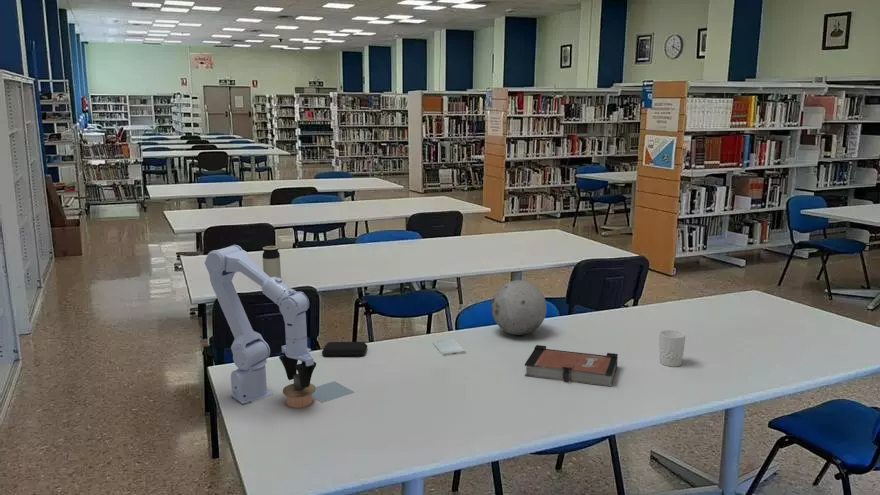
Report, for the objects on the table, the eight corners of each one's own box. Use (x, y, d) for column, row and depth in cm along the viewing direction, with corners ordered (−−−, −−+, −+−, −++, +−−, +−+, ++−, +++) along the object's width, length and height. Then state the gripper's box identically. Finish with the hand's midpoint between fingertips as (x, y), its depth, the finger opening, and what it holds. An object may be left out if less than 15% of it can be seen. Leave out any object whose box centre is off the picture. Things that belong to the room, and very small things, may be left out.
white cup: (687, 362, 219) (689, 333, 217) (677, 369, 214) (679, 339, 212) (664, 357, 224) (666, 328, 223) (653, 363, 219) (655, 334, 217)
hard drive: (432, 341, 239) (442, 353, 227) (454, 339, 241) (465, 350, 229) (432, 346, 239) (442, 357, 227) (454, 343, 241) (465, 355, 229)
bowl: (294, 411, 186) (293, 398, 185) (282, 403, 191) (281, 390, 190) (316, 404, 190) (316, 391, 189) (304, 397, 195) (303, 383, 195)
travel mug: (279, 286, 321) (276, 248, 318) (262, 286, 321) (260, 249, 318) (283, 281, 329) (281, 245, 326) (266, 282, 329) (264, 245, 326)
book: (524, 378, 209) (524, 363, 208) (536, 359, 225) (536, 344, 224) (611, 389, 200) (611, 373, 199) (617, 368, 216) (617, 353, 215)
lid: (293, 400, 184) (292, 384, 183) (277, 390, 190) (276, 374, 189) (321, 391, 189) (320, 375, 189) (305, 382, 196) (304, 366, 195)
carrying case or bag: (368, 347, 237) (326, 347, 237) (368, 339, 236) (326, 339, 237) (364, 358, 226) (321, 358, 227) (364, 349, 226) (320, 349, 226)
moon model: (557, 335, 247) (558, 282, 243) (515, 346, 236) (516, 291, 232) (521, 322, 263) (522, 272, 259) (480, 331, 252) (480, 279, 248)
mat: (321, 404, 190) (321, 402, 190) (302, 392, 198) (302, 390, 198) (354, 393, 197) (354, 392, 197) (334, 382, 205) (334, 381, 205)
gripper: (322, 340, 184) (324, 386, 186) (296, 327, 195) (298, 372, 197) (299, 345, 179) (301, 393, 182) (273, 332, 190) (276, 378, 193)
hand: (298, 383), depth 189 cm, fingers open, 7 cm apart
